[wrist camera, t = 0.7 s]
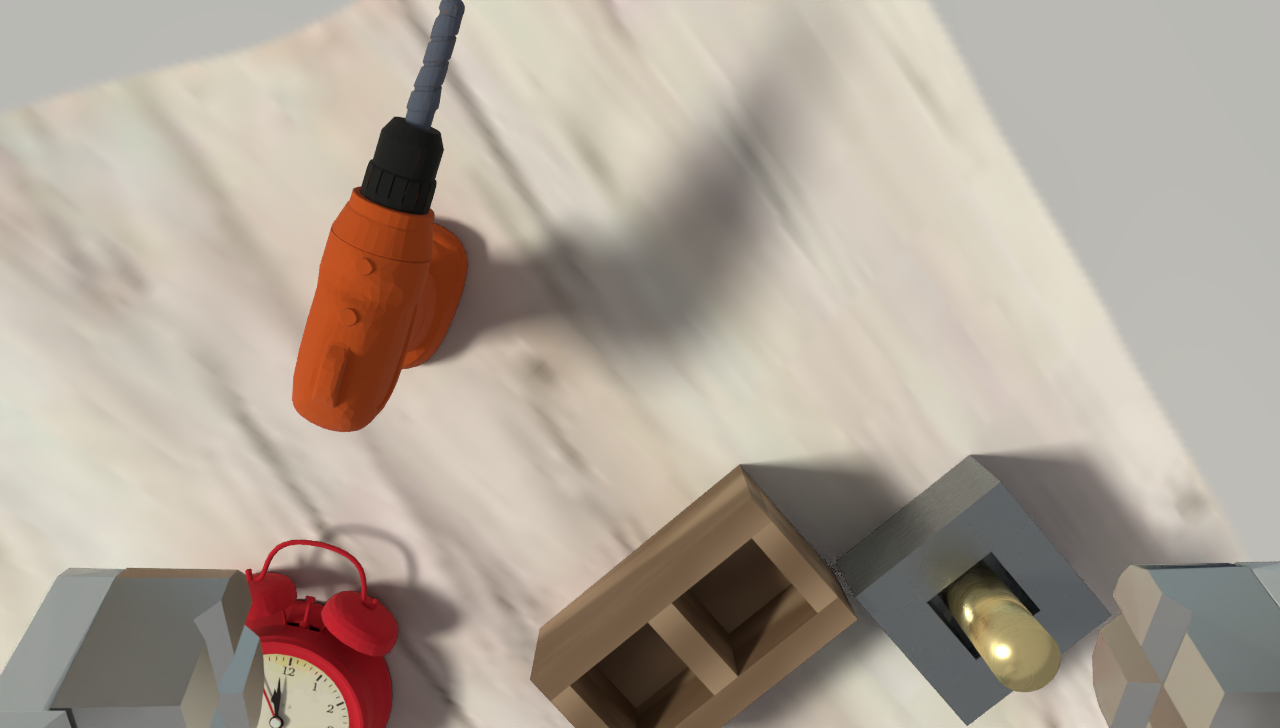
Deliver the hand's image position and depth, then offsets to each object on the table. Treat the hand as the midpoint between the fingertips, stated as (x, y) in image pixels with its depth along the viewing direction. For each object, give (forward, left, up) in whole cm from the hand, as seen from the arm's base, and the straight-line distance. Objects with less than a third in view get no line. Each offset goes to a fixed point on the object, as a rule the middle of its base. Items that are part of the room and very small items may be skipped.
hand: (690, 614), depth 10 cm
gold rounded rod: (-24, -2, -46) cm, 52 cm away
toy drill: (+8, +6, -47) cm, 48 cm away
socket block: (-24, -2, -47) cm, 53 cm away
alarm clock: (-5, +28, -47) cm, 55 cm away
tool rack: (-16, +10, -47) cm, 51 cm away
